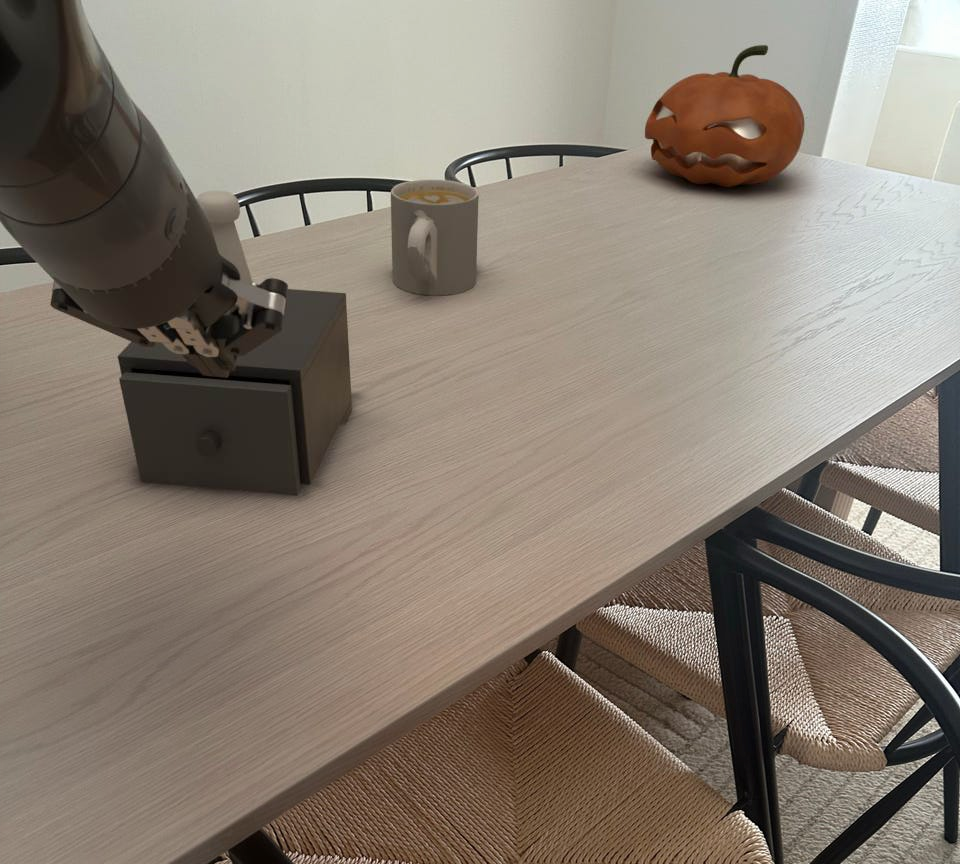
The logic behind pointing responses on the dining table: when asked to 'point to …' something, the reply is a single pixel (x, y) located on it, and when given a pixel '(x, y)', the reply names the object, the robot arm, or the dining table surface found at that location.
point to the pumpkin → (726, 127)
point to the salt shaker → (225, 227)
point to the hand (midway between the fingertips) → (218, 361)
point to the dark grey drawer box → (289, 368)
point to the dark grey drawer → (213, 431)
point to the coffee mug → (434, 236)
